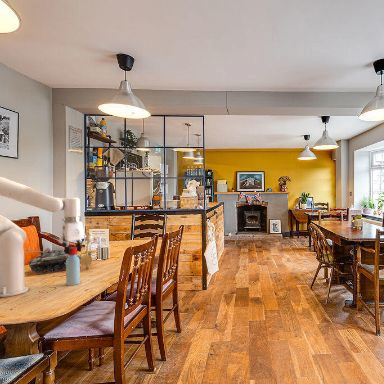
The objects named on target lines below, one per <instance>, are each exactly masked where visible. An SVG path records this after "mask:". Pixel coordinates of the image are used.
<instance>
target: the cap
mask: <svg viewBox="0 0 384 384" xmlns="http://www.w3.org/2000/svg"><path fill="white" fill-rule="evenodd" d="M69 247H70V246H69ZM76 254H77V255H78V251H77V247H76V246H71V247H70V254H69V255H76Z"/></svg>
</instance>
